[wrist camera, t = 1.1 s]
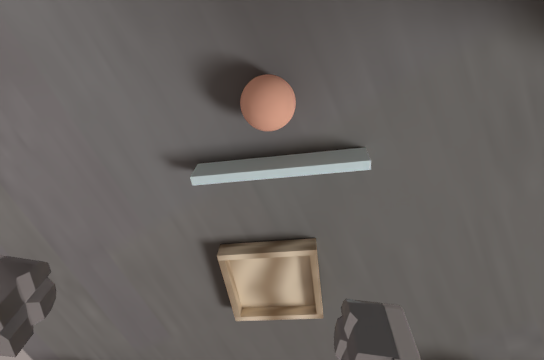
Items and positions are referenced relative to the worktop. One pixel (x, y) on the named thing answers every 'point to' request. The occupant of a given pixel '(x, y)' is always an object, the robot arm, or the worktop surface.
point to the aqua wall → (282, 166)
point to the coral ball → (268, 102)
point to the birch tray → (272, 279)
